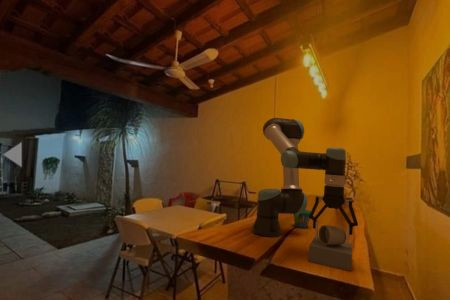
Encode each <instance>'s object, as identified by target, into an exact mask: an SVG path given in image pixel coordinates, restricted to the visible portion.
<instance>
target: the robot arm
mask: <svg viewBox="0 0 450 300" xmlns="http://www.w3.org/2000/svg"><path fill="white" fill-rule="evenodd" d="M262 132H263V135H264V137H265V138H266V139H267V140H268V141H270V142H271V144H273V146H274V148H276V150H277V151H278V153H279V154H280V162H281V166H282V175H283V177H282V178H283V180H282V181H283V184H282V185H283V186H281V188H280V189H278V188H264V189H261V190H259V191H258V192H257V199H256V200H257V202H256V203H257V204H256V218H255V220H254V223H253V225H252V229H251V230H252V231H253V232H254V233H253V232H252V233H253V234H255V233H256V234H255V235H257V234H260V235H259V236H261V235H265V236H264V237H266V236H277V237H279V236H278V235H280V236H282V228H281V225H280V221H279V214H283V215H285V214H286V215H294V214H301V213H303V212H304V211H305V209H306V210H307V207H308V198H307V197H308V196H307V194H306V193H304V192H303V188H302V187H301V186H300V169H302V170H303V169H304V170H305V169H306V170H316V171H324V188H323V196H318V195H316V196H315V200H314V201H315V203H314V204H313V207H312V209H311V210H310V211H311V213H310V215H309V220H311V221H312V228H313V230H315V232H314V235H315V236H314V237H315V238H317V237H319V224H320V223H319V218H320V216H321V215H322V214H323V213H324V212H325V210H326V209H327V208H328V209H335V210H339V211H340V212H341V214H342V216H343V218H344V220H345V221H346V223H347V224H348V225H346V226H347V227H346V241H345V243H347V244H349V243H350V242H349V241H350V236H352V235H353V228H354V227H358V226H359V223H358V219H357V216H356V214H355V211H354V208H353V207H354V206H353V200H352V199H345V187H344V186H345V185H346V184H345V183H346V182H345V181H346V161H347V156H346V155H347V154H346V152H347V151H346V149H345V148H342V147H328V148H326V150H325V152H324V153H322V152H308V151H300V150H299V144H300V142H301V140H302V139H303V138H304V134H305V127H304V124H303V122H301V121H300V120H298V119H297V120H296V119H294V118H293V119H291V118H281V117H273V118H269V119H268V120H267V121H265V123H264V124H263V127H262ZM322 201H323V203H324V205H323V206H322V207H321V209H320V210H319V211H318V212H317V213H316V215H315V212H316V210H317V208H318V205H319V203H321V202H322ZM344 204H346V205H347V207H348V209H349V212H350V215H351V218H352V220H351V218H350V217H349V216H348V215H349V214H347V212H346V210H345V209H344V207H343V205H344ZM314 215H315V216H314ZM352 221H353V222H352Z"/></svg>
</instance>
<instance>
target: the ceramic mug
mask: <svg viewBox="0 0 450 300" xmlns="http://www.w3.org/2000/svg"><path fill="white" fill-rule="evenodd" d="M318 237H319V239H320V241H321V243H322V244H324V245H342V244H344V243H346V242H347V232H346V231H345V229H343V228H342V227H340V226H337V225H328V224H323V225H321V226H320V227H319V228H318Z"/></svg>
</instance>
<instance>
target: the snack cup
mask: <svg viewBox="0 0 450 300" xmlns="http://www.w3.org/2000/svg"><path fill="white" fill-rule="evenodd" d="M311 211H312V210H309V209H307V208H306V209H305V211H304V212H303V213H301V214H293V216H294V217H293V218H294V219H293V221H294V226H295V227H297V228H301V229H306V228H308V226H309V222H310V219H309V215H310V213H311Z"/></svg>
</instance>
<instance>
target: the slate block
mask: <svg viewBox="0 0 450 300" xmlns="http://www.w3.org/2000/svg"><path fill="white" fill-rule="evenodd" d="M352 257H353V243H350V242H349V244H347V243H346V242H345V243H344V244H342V245H324V244H322V243H321V241H320V239H319V236H318V237H317V238H315V236H314V237H313V239H312V240H311V242H310V244H309V245H308V262H311V263H315V264H320V265H323V266H326V267H327V266H328V267H330V268H331V267H332V268H336V269H340V270H344V271H349V272H351V271H352V261H353V258H352Z"/></svg>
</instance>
